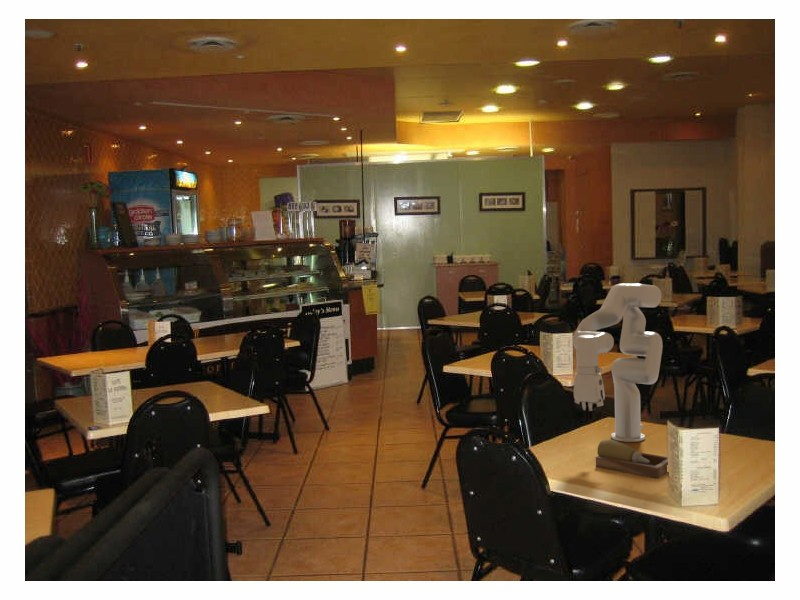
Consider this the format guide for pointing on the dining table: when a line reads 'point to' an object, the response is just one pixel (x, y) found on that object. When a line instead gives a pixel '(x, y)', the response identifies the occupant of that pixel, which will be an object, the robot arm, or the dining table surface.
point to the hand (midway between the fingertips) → (589, 420)
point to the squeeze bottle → (620, 452)
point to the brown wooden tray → (636, 465)
